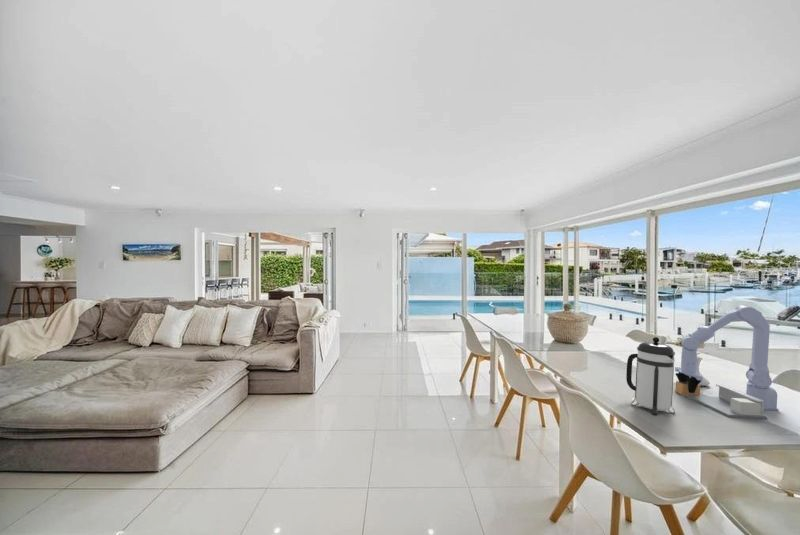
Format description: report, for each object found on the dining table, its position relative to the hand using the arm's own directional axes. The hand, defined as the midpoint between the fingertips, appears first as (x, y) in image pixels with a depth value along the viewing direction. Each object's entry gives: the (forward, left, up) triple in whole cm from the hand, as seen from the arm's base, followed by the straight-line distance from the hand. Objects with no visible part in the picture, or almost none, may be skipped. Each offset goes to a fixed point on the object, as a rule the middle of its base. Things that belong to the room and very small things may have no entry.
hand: (687, 390), depth 170 cm
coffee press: (+32, +22, -2) cm, 39 cm away
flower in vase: (-17, -18, -2) cm, 25 cm away
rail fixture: (-3, +16, -1) cm, 16 cm away
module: (0, 0, -1) cm, 1 cm away
